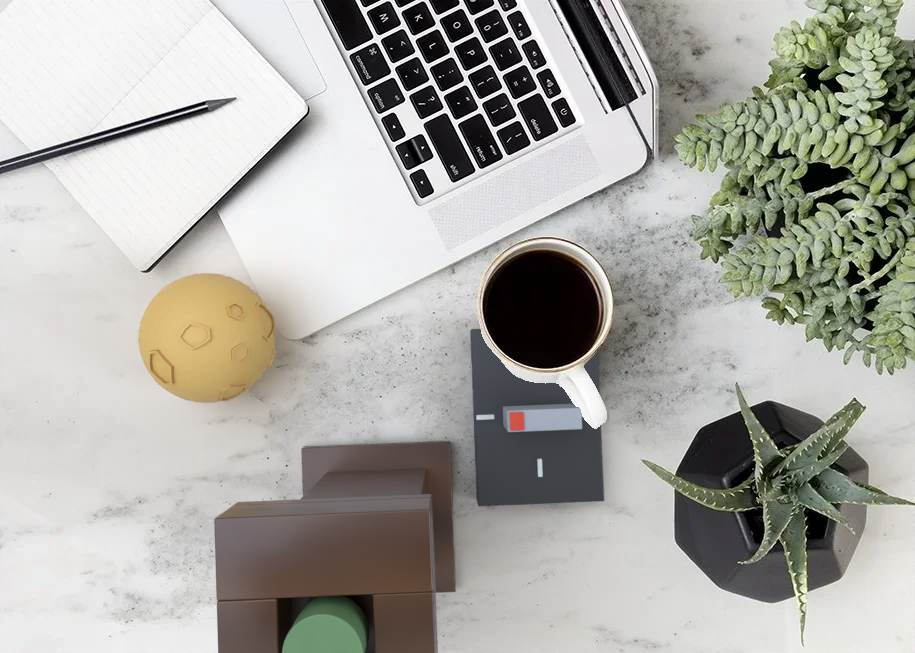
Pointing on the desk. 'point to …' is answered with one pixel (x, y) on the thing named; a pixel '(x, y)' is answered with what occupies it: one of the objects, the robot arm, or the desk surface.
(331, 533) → the brown blocky frame
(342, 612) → the green button
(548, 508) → the desk surface
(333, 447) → the post
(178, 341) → the stress ball
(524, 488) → the gadget
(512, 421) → the block
